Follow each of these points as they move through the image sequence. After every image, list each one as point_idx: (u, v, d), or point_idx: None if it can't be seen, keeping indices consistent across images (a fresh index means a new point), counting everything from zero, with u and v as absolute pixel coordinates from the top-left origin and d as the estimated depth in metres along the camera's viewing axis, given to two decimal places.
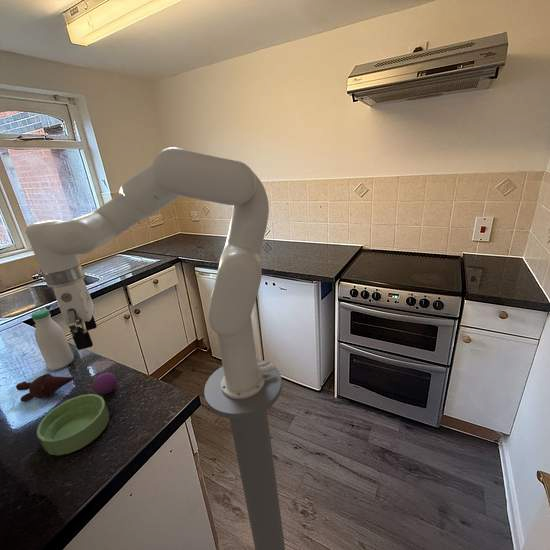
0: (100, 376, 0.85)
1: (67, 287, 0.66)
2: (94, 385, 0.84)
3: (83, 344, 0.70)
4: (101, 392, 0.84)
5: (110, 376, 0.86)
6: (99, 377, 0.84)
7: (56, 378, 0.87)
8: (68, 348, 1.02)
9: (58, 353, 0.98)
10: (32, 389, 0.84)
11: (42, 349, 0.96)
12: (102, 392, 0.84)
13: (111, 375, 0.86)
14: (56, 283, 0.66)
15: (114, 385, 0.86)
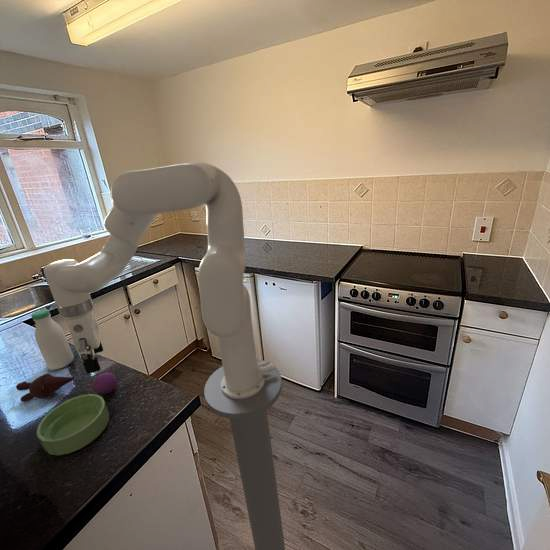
0: (100, 376, 0.85)
1: (79, 319, 0.74)
2: (94, 385, 0.84)
3: (92, 369, 0.78)
4: (101, 392, 0.84)
5: (110, 376, 0.86)
6: (99, 377, 0.84)
7: (56, 378, 0.87)
8: (68, 348, 1.02)
9: (58, 353, 0.98)
10: (32, 389, 0.84)
11: (42, 349, 0.96)
12: (102, 392, 0.84)
13: (111, 375, 0.86)
14: (69, 316, 0.74)
15: (114, 385, 0.86)
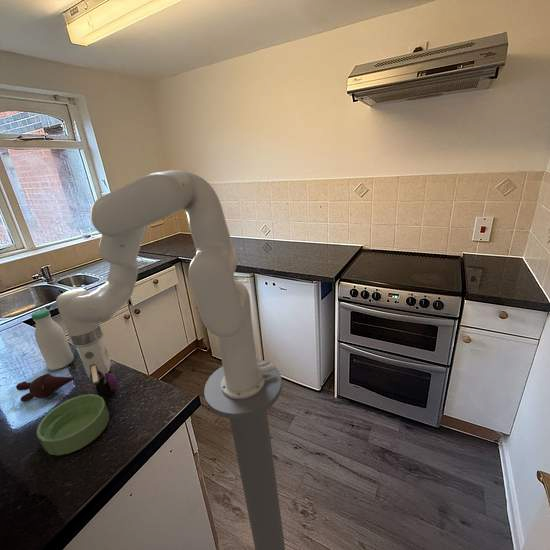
0: (100, 376, 0.85)
1: (90, 347, 0.77)
2: (94, 385, 0.84)
3: (104, 392, 0.82)
4: None
5: (110, 376, 0.86)
6: (99, 377, 0.84)
7: (56, 378, 0.87)
8: (68, 348, 1.02)
9: (58, 353, 0.98)
10: (32, 389, 0.84)
11: (42, 349, 0.96)
12: None
13: (111, 375, 0.86)
14: (80, 344, 0.77)
15: (114, 385, 0.86)
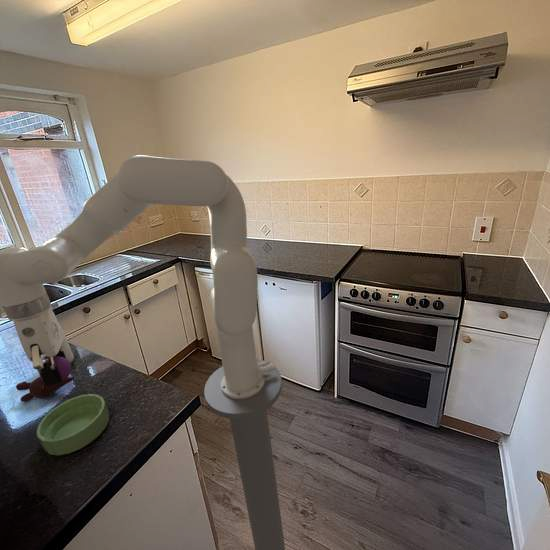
0: None
1: (29, 321, 0.60)
2: None
3: (51, 380, 0.66)
4: None
5: (62, 361, 0.69)
6: (47, 361, 0.68)
7: None
8: (68, 348, 1.02)
9: None
10: (32, 389, 0.84)
11: None
12: None
13: (63, 360, 0.69)
14: (17, 317, 0.60)
15: (67, 372, 0.69)
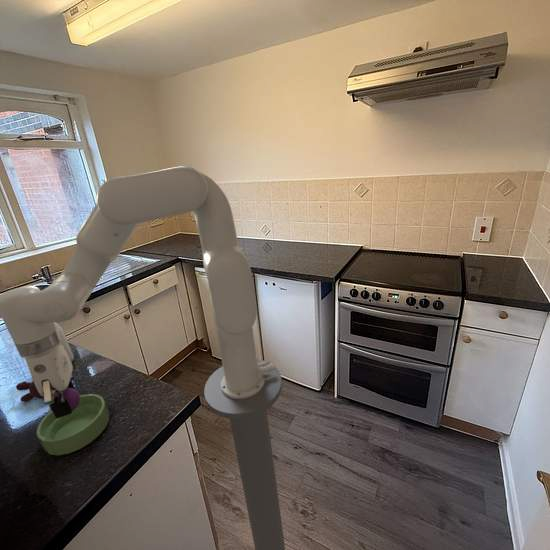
0: None
1: (40, 358, 0.62)
2: None
3: (61, 413, 0.68)
4: None
5: (71, 392, 0.71)
6: (57, 393, 0.70)
7: None
8: (68, 348, 1.02)
9: None
10: (32, 389, 0.84)
11: None
12: None
13: (72, 391, 0.71)
14: (29, 354, 0.62)
15: (76, 403, 0.71)
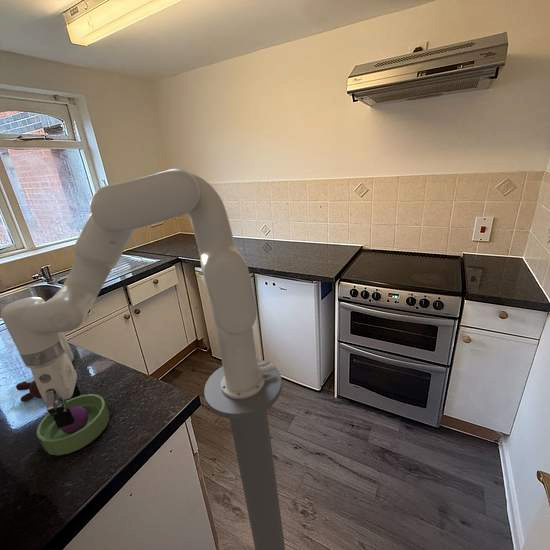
0: None
1: (45, 368, 0.63)
2: None
3: (64, 422, 0.67)
4: (68, 431, 0.71)
5: (80, 411, 0.73)
6: None
7: None
8: (68, 348, 1.02)
9: None
10: (32, 389, 0.84)
11: None
12: (69, 431, 0.71)
13: (81, 410, 0.73)
14: (34, 364, 0.63)
15: (85, 422, 0.73)
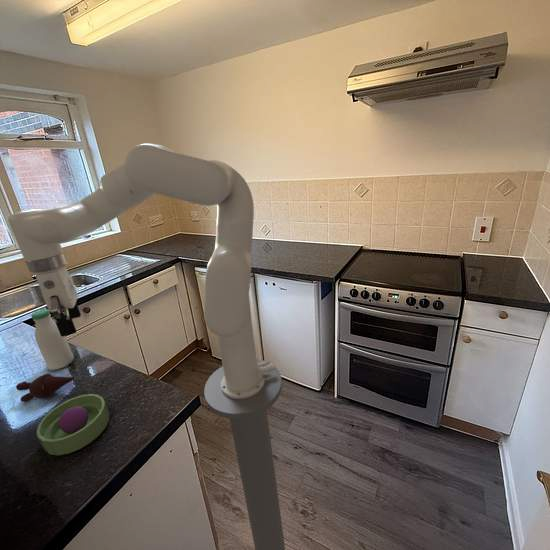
0: (67, 412, 0.72)
1: (50, 274, 0.68)
2: (60, 423, 0.71)
3: (66, 330, 0.72)
4: (68, 431, 0.71)
5: (79, 411, 0.73)
6: (66, 412, 0.72)
7: (56, 378, 0.87)
8: (68, 348, 1.02)
9: (58, 353, 0.98)
10: (32, 389, 0.84)
11: (42, 349, 0.96)
12: (69, 431, 0.71)
13: (81, 410, 0.74)
14: (39, 270, 0.67)
15: (85, 422, 0.73)
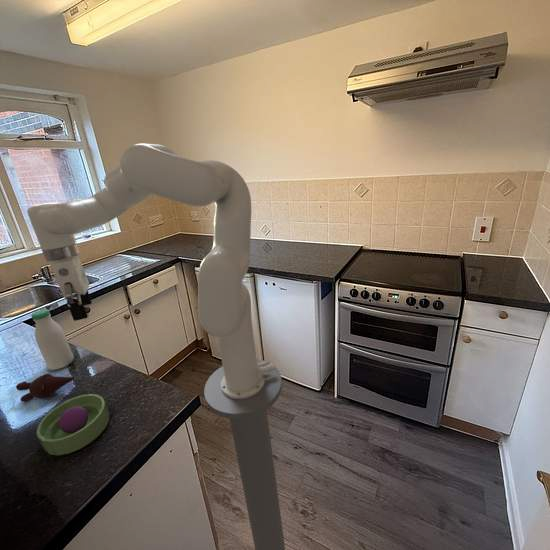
0: (67, 411, 0.72)
1: (64, 262, 0.74)
2: (60, 423, 0.71)
3: (79, 315, 0.77)
4: (68, 431, 0.71)
5: (79, 411, 0.73)
6: (66, 412, 0.72)
7: (56, 378, 0.87)
8: (68, 348, 1.02)
9: (58, 353, 0.98)
10: (32, 389, 0.84)
11: (42, 349, 0.96)
12: (69, 431, 0.71)
13: (81, 410, 0.74)
14: (54, 259, 0.73)
15: (85, 422, 0.73)
